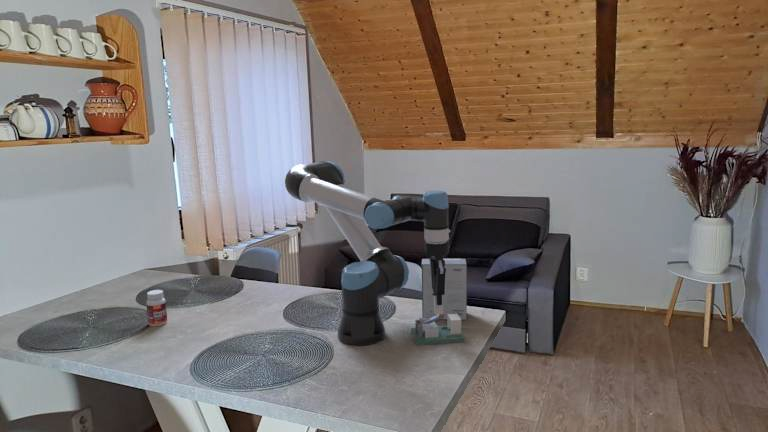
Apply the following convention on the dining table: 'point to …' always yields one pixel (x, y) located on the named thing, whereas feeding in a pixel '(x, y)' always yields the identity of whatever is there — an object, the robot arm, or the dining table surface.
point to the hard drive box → (446, 289)
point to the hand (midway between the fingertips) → (438, 313)
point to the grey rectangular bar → (431, 319)
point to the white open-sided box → (454, 323)
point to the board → (437, 339)
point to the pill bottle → (156, 308)
